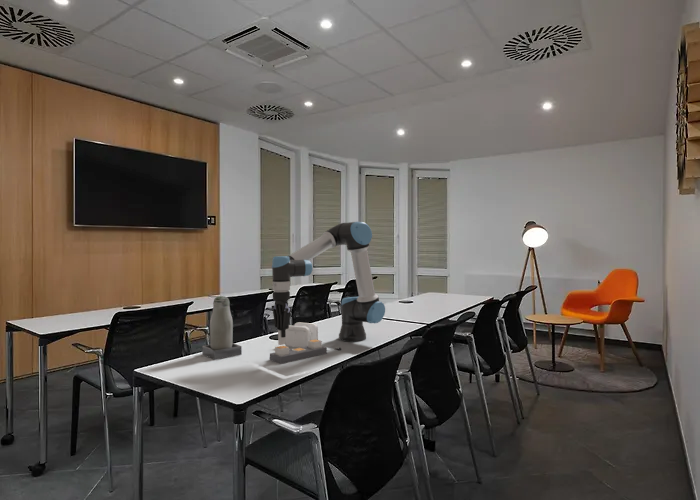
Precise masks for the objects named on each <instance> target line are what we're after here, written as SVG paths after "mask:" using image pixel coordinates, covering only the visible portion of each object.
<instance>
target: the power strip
mask: <svg viewBox="0 0 700 500" xmlns="http://www.w3.org/2000/svg"><path fill="white" fill-rule="evenodd" d="M297 348H298V347H294V349H297ZM300 348H302V349H306V351H303V352H294V351H292V349H293V348H291V349H290V348H289V355H284V356H279V355H276V354H275V352H271V353H269V360H270V361H272V362H274V363H277V364H280V365H282V364H286V363H290V362H296V361H299V360H305V359H309V358H313V357H317V356H321V355H326V354H328V351H329V349H327V348H328V347H326V346H323V345H322V348H317V349H312V348H308V346H305V347H300ZM331 350H335V351H342V347H336V348H331V349H330V351H331Z"/></svg>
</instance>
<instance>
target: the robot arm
mask: <svg viewBox="0 0 700 500" xmlns="http://www.w3.org/2000/svg"><path fill="white" fill-rule="evenodd" d="M372 239H373V231H372V229H371V227H370V226H369V225H368V224H367V223H366V222H364V221H352V222H351V221H350V222H341V223H338V224H336V225H334V226H332V227H330V228H329V229H327V230H326V231H324V232H323V233H322V235H321V236H319V237H317V238H316V239H314V240H312V241H310V242H309V243H307V244H306V245H304V246H302V247H300V248H299V249H297V250H295V251H294V252H292V253H290V254H289V255H287V256H286V255H279V256H278V255H276V256H273V258H272V261H271V263H272V264H271V271H272V272H271V273H272V274H271V275H272V276H271V277H272V285H271V286H272V291H273V292H272V300H273V301H274V305H271V310H272V314H273V315H272V316H273V323H274V328H276V329H277V333H278V334H277V338H278V341H277V343H278V346H284V345H285V336H286V333H285V330H286V329H288V328H289V325H290V319H291V312H292V310H293V308H292V307H290V306H289V302H288V301H289V300H290V299H291V292H290V291H291V283H290V282H291V281H290V280H291V279H290V278H294V277H295V278H296V277H306V276H311V274H312V272H313V263H312V262H311V261H312V260H313V259H315V257H317V256H319V255H321V254H322V253H324V252H325V251H327V250H329V249H334V248H336V247H338V246H345V245H346V249H347V251H348V252H349V253H350V255H351V261H352V266H353V272H354V276H355V283H356V287H357V293H358V296H351V297H343V298H342V299H341V305H340V306H341V309H340V310H341V327H340V330H339V333H338V340H340V341H344V342H361V341H365V340H366V339H367V333H366V331H365V327H364V323H368V324H379V323H380V322H381V321H382V320H383V318H384V316H385V314H386V306H385V304H384V303H383V302H382V301H381V300H380V299H379V295H378V294H377V293H376V291H375V286H374V282H373V281H374V280H373V275H372V270H371V265H370V258H369V253H368V252H369V251H368V249H369V247H370V243H371V241H372Z"/></svg>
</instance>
